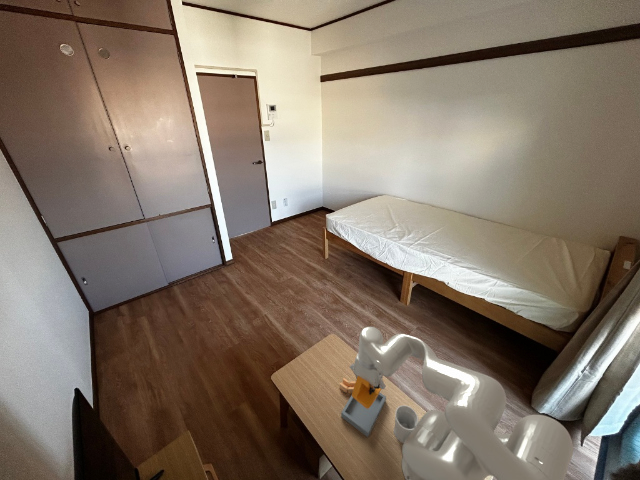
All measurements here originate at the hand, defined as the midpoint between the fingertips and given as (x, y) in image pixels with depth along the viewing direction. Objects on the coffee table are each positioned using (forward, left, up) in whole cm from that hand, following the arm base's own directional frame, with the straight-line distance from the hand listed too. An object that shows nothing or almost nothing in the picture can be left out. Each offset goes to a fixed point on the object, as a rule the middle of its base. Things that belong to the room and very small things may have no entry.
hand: (365, 387), depth 95 cm
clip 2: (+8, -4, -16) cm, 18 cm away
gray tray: (0, 0, -16) cm, 16 cm away
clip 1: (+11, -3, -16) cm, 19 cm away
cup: (-16, -1, -16) cm, 23 cm away
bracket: (-1, 0, -3) cm, 3 cm away
